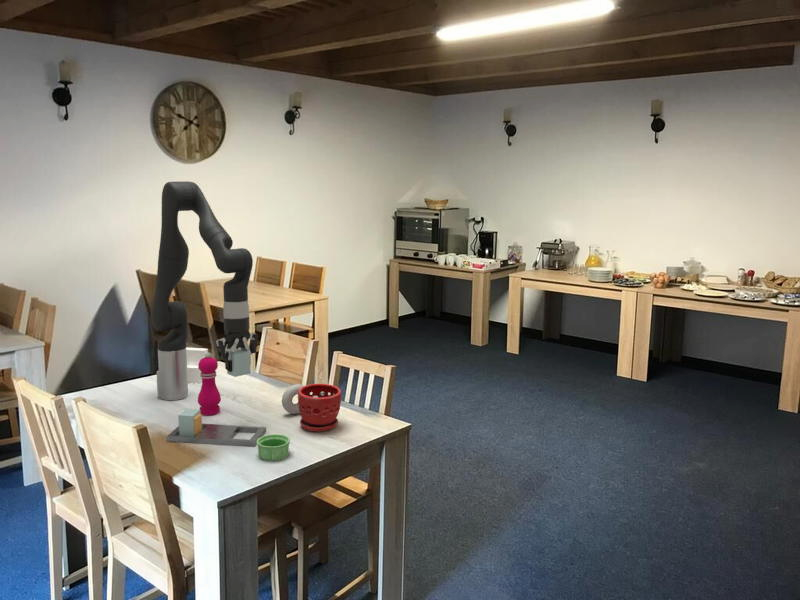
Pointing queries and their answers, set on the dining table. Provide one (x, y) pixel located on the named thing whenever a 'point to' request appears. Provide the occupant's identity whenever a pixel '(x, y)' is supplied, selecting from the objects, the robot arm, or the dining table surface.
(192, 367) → the base with upright slab
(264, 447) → the ramekin
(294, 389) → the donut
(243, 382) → the dining table surface
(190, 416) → the sage green block
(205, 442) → the grey rectangular tray
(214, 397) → the pepper mill
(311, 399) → the plant pot
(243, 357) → the grey-green block
